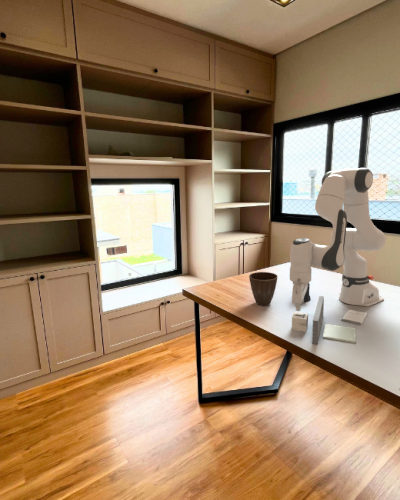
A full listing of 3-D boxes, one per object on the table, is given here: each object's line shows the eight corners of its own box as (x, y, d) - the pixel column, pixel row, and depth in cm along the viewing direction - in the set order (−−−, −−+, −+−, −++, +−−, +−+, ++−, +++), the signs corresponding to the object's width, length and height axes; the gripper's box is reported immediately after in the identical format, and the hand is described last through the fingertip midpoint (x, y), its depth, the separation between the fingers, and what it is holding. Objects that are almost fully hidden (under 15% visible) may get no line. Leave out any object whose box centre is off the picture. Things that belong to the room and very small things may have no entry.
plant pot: (277, 299, 164) (277, 272, 160) (277, 310, 150) (277, 280, 146) (251, 298, 168) (250, 271, 164) (248, 308, 154) (247, 279, 150)
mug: (313, 301, 157) (313, 282, 155) (296, 302, 158) (296, 282, 155) (306, 293, 169) (306, 275, 167) (290, 294, 169) (290, 276, 167)
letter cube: (294, 324, 134) (294, 311, 132) (307, 326, 131) (308, 313, 130) (291, 329, 128) (291, 316, 127) (306, 332, 126) (306, 318, 124)
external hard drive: (341, 321, 134) (348, 312, 143) (361, 326, 129) (367, 315, 138) (341, 318, 134) (348, 309, 143) (361, 322, 129) (367, 312, 138)
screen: (318, 315, 140) (319, 296, 138) (323, 316, 140) (323, 296, 138) (312, 343, 116) (312, 320, 114) (317, 344, 115) (318, 321, 113)
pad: (325, 325, 130) (325, 323, 130) (355, 329, 125) (355, 328, 125) (322, 338, 120) (323, 336, 120) (355, 343, 114) (355, 341, 114)
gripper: (304, 284, 114) (304, 316, 117) (310, 270, 132) (310, 299, 135) (288, 282, 117) (288, 314, 120) (296, 269, 135) (296, 297, 137)
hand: (299, 306), depth 127 cm, fingers open, 8 cm apart
